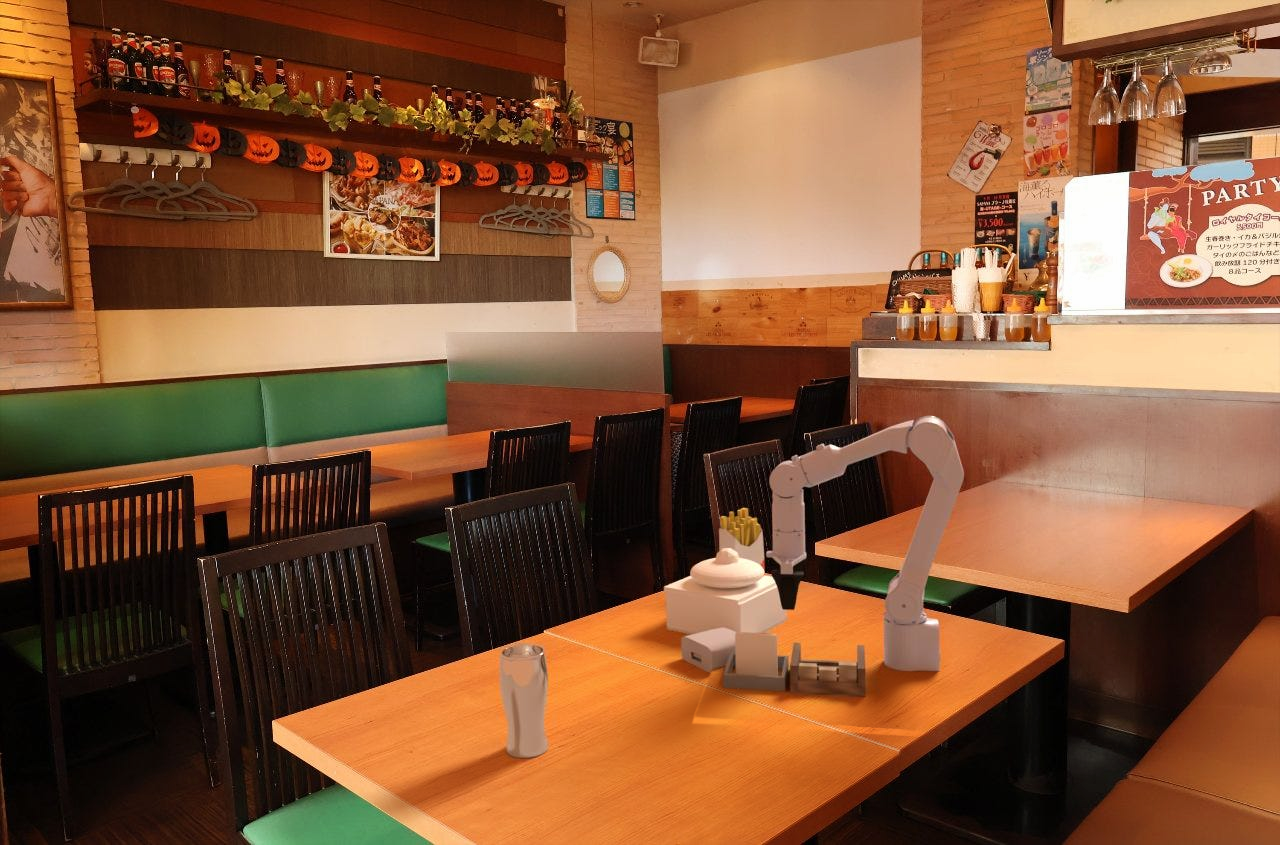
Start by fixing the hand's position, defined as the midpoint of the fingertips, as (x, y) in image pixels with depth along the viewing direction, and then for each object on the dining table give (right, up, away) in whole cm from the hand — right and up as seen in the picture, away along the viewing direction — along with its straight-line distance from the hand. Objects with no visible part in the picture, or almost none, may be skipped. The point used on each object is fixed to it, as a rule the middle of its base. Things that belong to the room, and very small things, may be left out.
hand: (789, 602), depth 175 cm
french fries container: (-4, -6, +45) cm, 45 cm away
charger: (-11, -11, +3) cm, 15 cm away
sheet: (-7, -11, -9) cm, 16 cm away
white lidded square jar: (-10, -9, +21) cm, 25 cm away
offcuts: (+4, -11, -15) cm, 20 cm away
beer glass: (-44, -16, -32) cm, 56 cm away
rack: (+5, -12, -12) cm, 17 cm away
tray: (-7, -12, -9) cm, 17 cm away
